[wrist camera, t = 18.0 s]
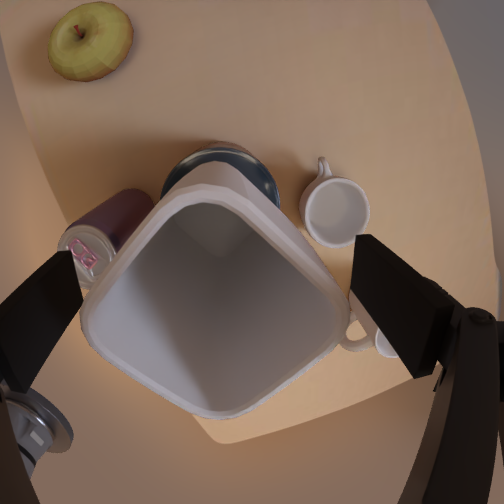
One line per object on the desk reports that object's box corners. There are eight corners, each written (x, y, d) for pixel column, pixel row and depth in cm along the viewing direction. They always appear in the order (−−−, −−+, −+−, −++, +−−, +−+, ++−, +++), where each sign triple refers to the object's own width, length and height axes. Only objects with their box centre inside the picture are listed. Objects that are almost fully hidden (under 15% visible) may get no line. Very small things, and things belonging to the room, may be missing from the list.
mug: (338, 337, 46) (361, 383, 37) (314, 300, 43) (336, 345, 34) (404, 295, 45) (438, 333, 35) (387, 254, 42) (425, 287, 32)
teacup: (357, 224, 40) (374, 237, 35) (301, 240, 40) (311, 256, 35) (343, 148, 36) (360, 151, 31) (282, 162, 36) (291, 167, 31)
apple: (119, -1, 27) (97, -25, 19) (154, 52, 30) (136, 34, 23) (56, 47, 28) (24, 35, 21) (87, 101, 31) (56, 97, 24)
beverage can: (133, 177, 36) (81, 207, 22) (166, 212, 37) (134, 262, 24) (102, 210, 37) (43, 256, 23) (134, 244, 39) (92, 304, 25)
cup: (150, 214, 23) (62, 330, 9) (217, 140, 21) (199, 155, 8) (222, 275, 25) (222, 432, 11) (289, 208, 24) (371, 320, 10)
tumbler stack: (185, 220, 38) (164, 271, 25) (180, 144, 35) (152, 152, 21) (262, 217, 39) (281, 265, 25) (260, 140, 35) (281, 145, 22)
